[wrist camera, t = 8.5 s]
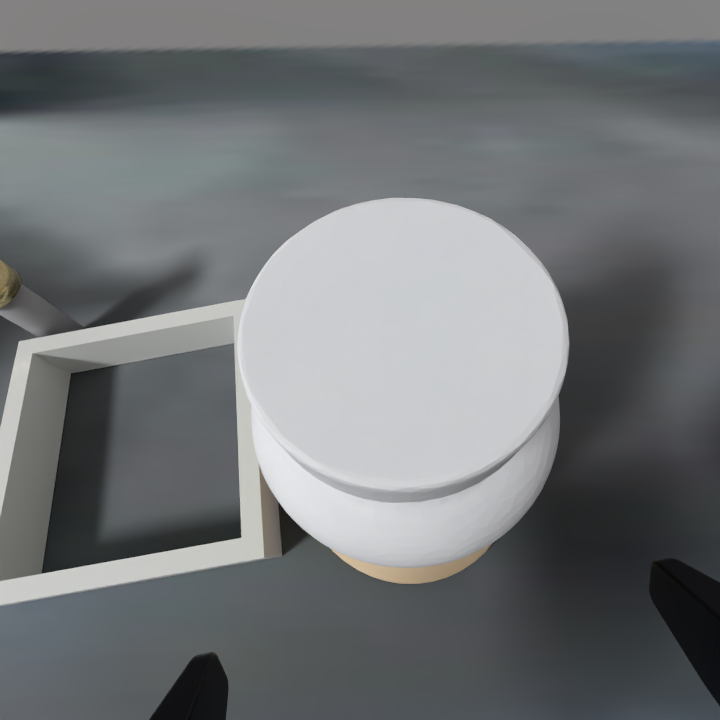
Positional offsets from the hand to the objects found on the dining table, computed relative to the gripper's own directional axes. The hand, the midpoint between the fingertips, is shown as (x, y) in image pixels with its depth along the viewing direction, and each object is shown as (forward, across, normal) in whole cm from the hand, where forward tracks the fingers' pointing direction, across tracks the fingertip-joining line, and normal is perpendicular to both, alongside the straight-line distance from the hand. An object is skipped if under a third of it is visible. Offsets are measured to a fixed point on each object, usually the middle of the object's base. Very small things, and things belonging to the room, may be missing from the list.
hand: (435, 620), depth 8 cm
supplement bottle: (+9, 0, +3) cm, 9 cm away
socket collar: (+12, +11, +1) cm, 16 cm away
